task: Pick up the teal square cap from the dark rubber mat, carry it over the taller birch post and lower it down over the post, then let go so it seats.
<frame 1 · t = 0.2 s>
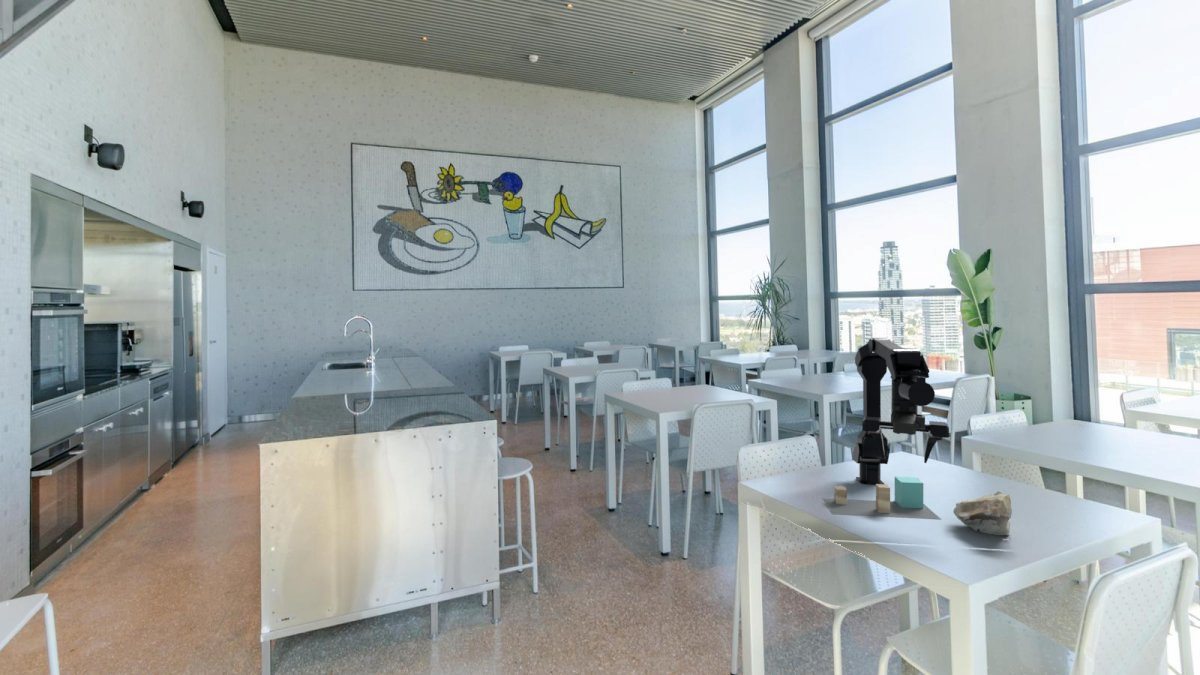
hand: (903, 460, 137), 14 cm above the table, fingers open, 9 cm apart
mat: (878, 509, 140), on the table
post: (882, 511, 138), resting on mat
cap: (908, 504, 143), resting on mat
tan block: (840, 502, 145), resting on mat
stone: (981, 533, 125), on the table
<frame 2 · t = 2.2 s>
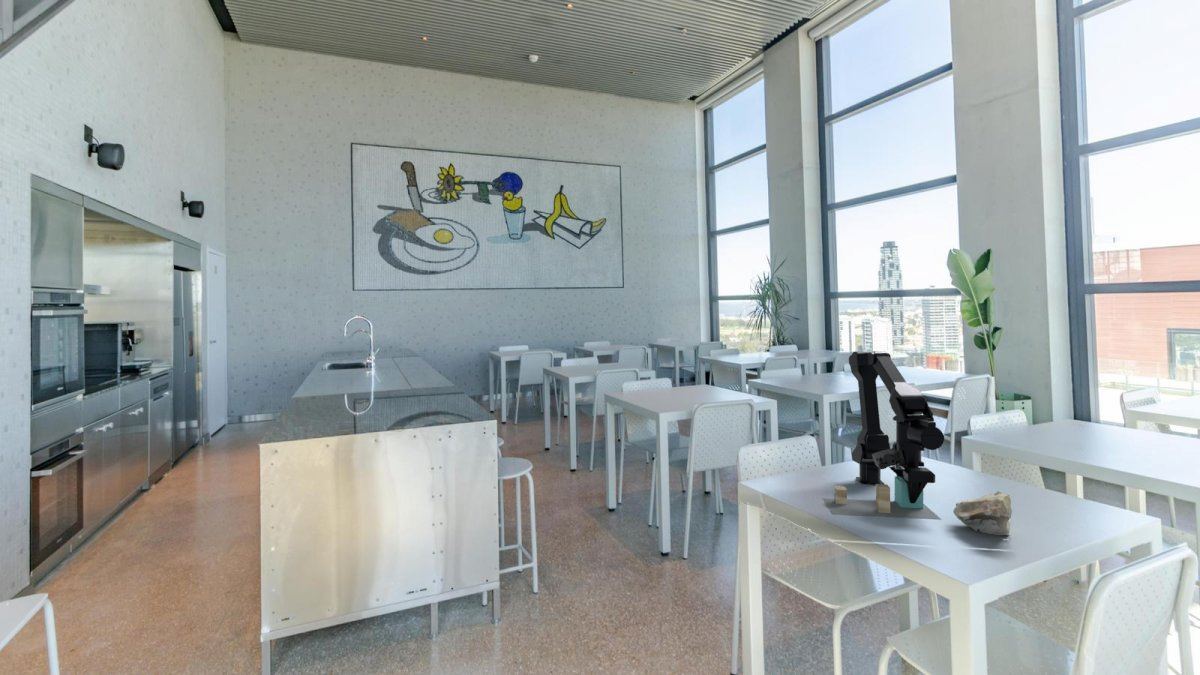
hand: (908, 499, 143), 2 cm above the table, fingers closed on cap, 5 cm apart
cap: (908, 504, 143), resting on mat, touching gripper
everything else where it was.
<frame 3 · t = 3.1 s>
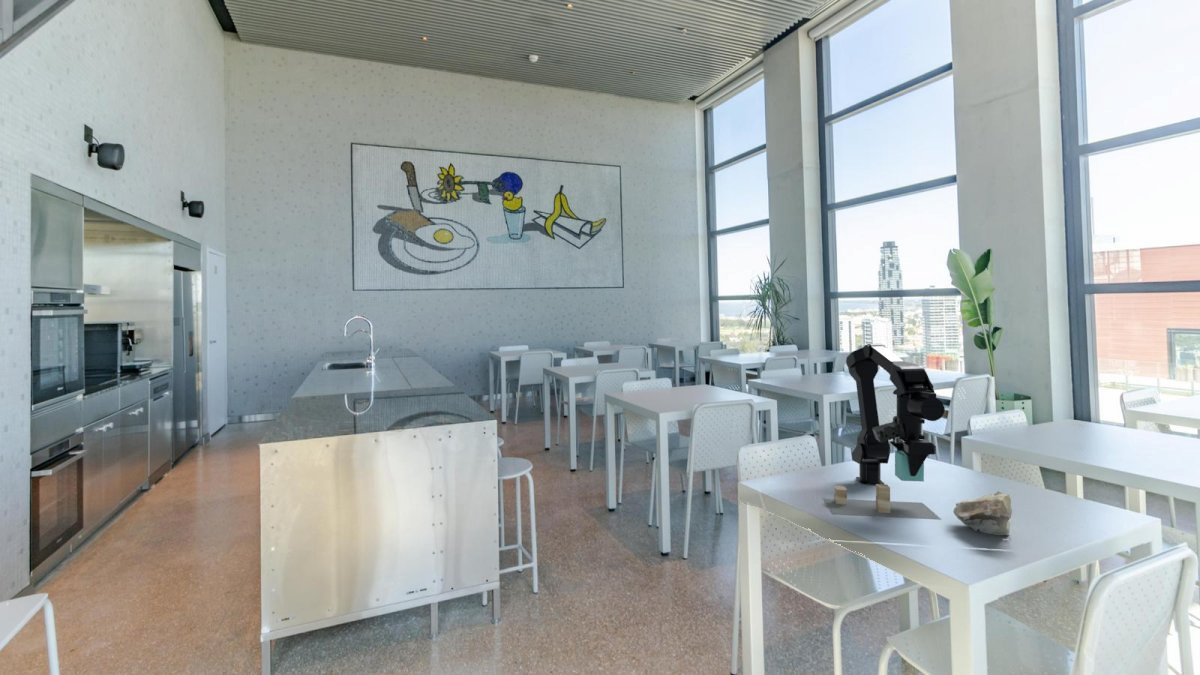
hand: (909, 473, 142), 9 cm above the table, fingers closed on cap, 5 cm apart
cap: (909, 478, 142), point 7 cm above the table, touching gripper
everything else where it was.
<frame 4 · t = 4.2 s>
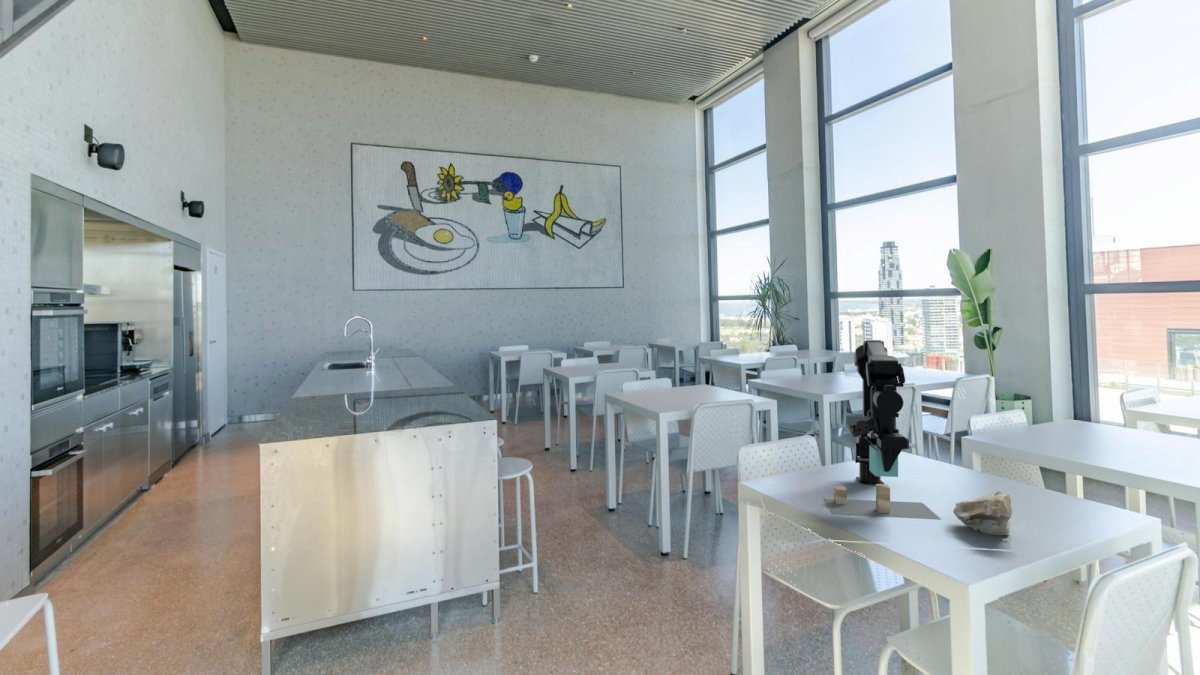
hand: (883, 468, 138), 11 cm above the table, fingers closed on cap, 5 cm apart
cap: (883, 473, 138), point 10 cm above the table, touching gripper
everything else where it was.
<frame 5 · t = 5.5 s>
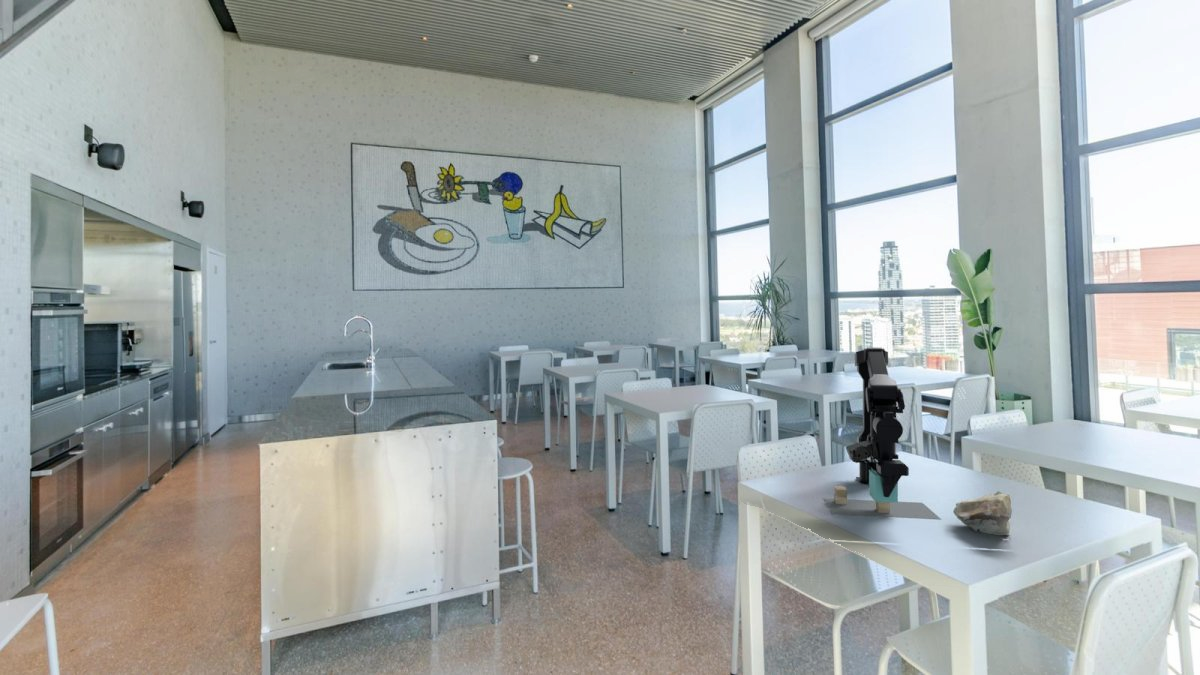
hand: (882, 493, 138), 5 cm above the table, fingers closed on cap, 5 cm apart
cap: (883, 498, 138), point 4 cm above the table, touching gripper
everything else where it was.
when the fingers open (4 cm above the table, at t = 6.7 s): cap drops 2 cm, resting on post.
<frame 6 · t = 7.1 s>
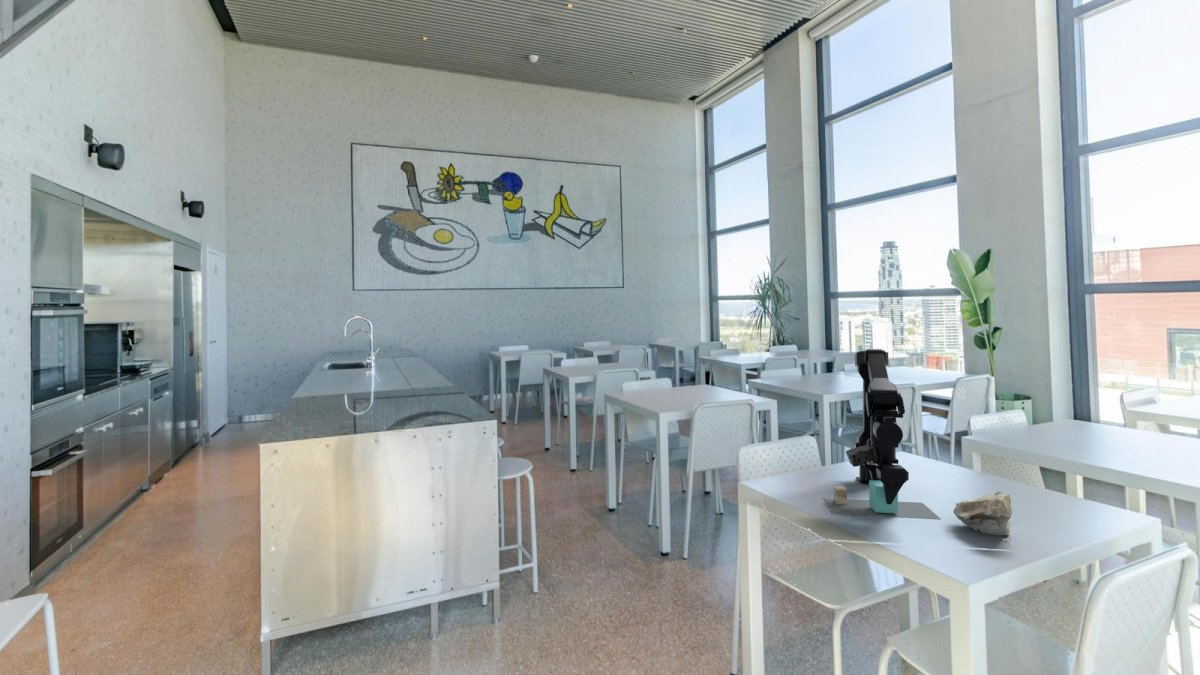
hand: (882, 497, 138), 4 cm above the table, fingers open, 9 cm apart
cap: (883, 509, 138), point 1 cm above the table, touching post
everything else where it was.
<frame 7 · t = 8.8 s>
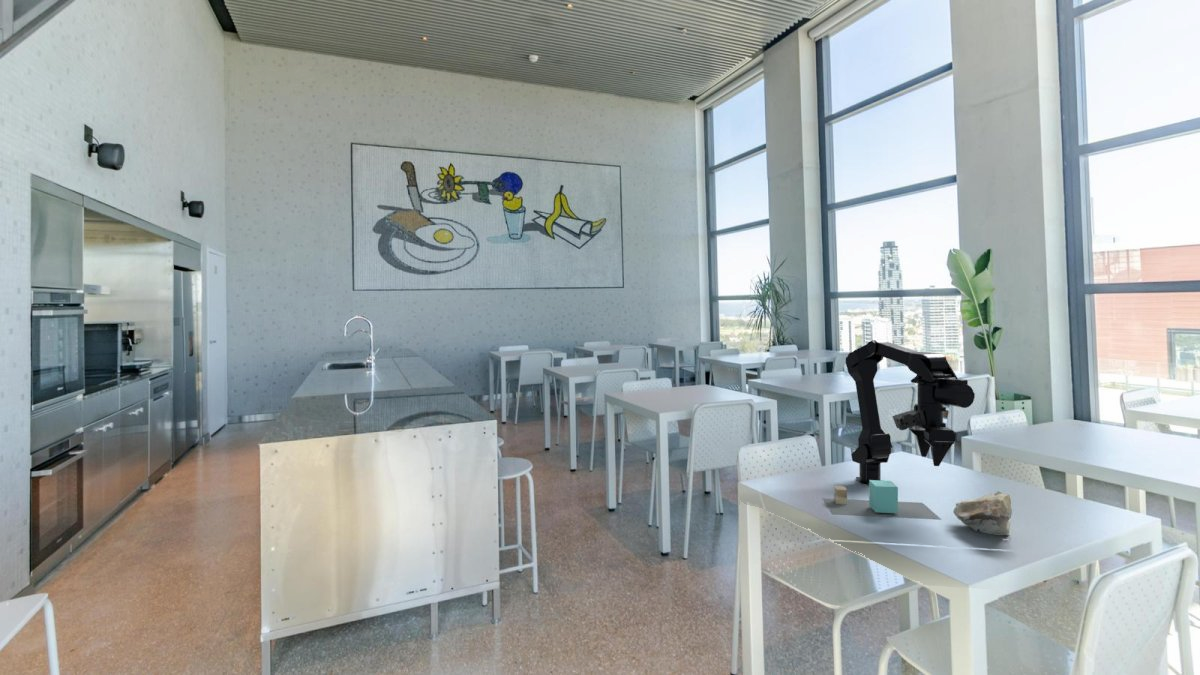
hand: (929, 461, 142), 12 cm above the table, fingers open, 9 cm apart
nothing on the table moved.
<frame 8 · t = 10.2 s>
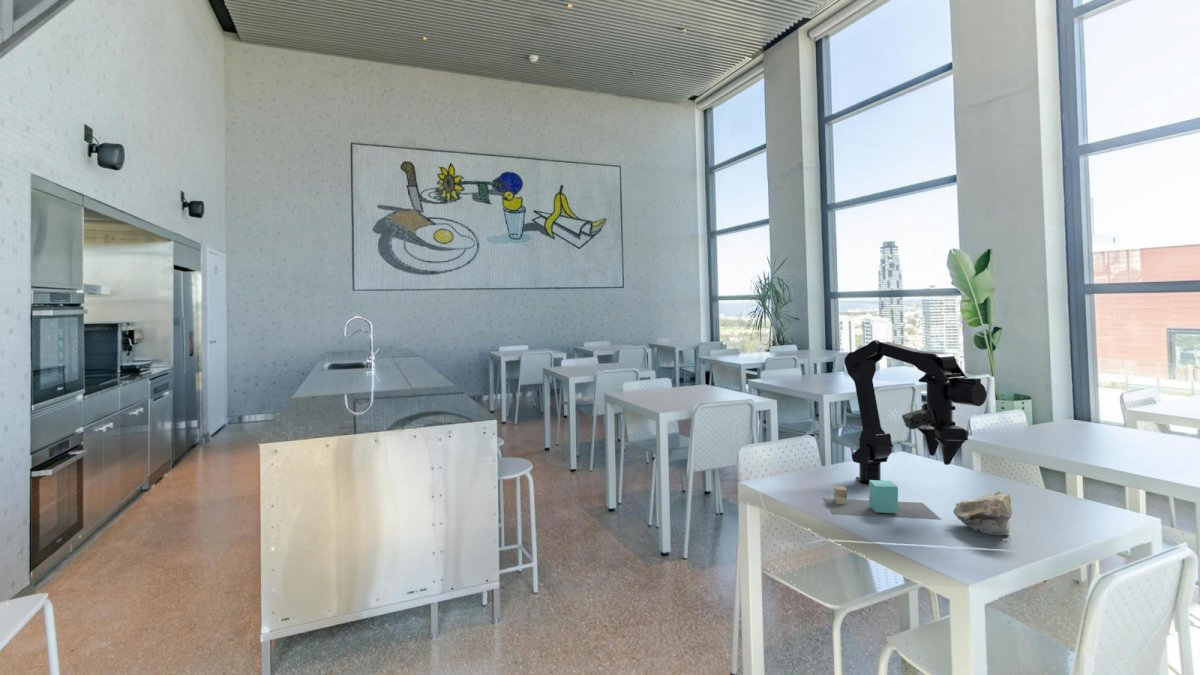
hand: (939, 459, 143), 12 cm above the table, fingers open, 9 cm apart
nothing on the table moved.
at the end: cap 0.1 cm from the post (horizontally); cap point 0.9 cm above the table; cap tilted 0° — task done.
